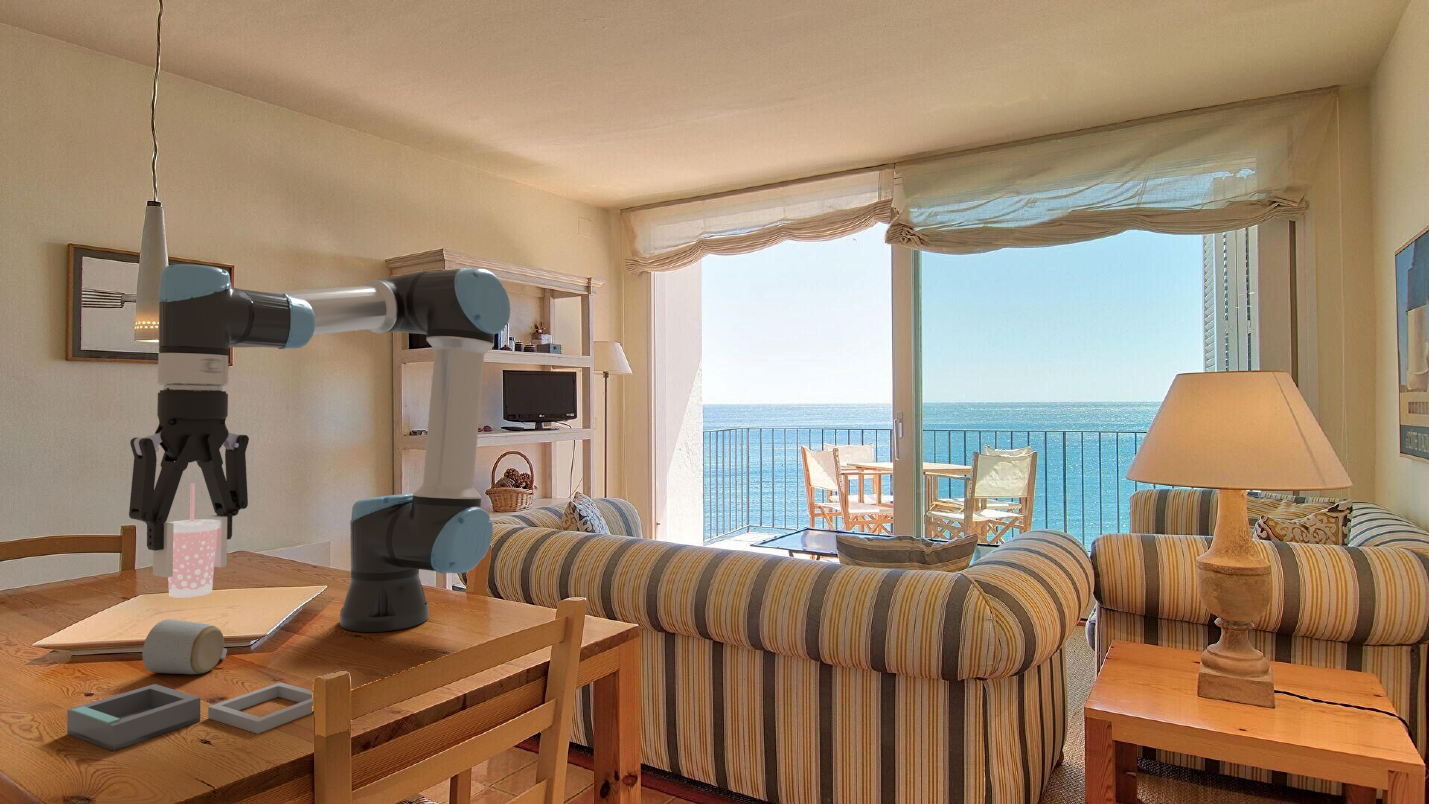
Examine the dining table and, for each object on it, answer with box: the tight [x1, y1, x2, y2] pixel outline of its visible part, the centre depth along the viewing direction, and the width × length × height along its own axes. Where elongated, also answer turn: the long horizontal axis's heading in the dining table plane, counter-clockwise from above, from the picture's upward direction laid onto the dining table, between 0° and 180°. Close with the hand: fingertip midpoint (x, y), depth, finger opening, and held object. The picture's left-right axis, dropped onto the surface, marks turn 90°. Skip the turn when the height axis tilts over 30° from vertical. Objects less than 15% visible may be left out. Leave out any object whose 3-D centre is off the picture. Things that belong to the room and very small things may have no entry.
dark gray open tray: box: [66, 683, 201, 752], centre depth 101 cm, size 10×10×3 cm
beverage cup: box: [166, 482, 220, 599], centre depth 103 cm, size 6×6×14 cm
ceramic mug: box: [141, 618, 228, 676], centre depth 123 cm, size 11×8×8 cm
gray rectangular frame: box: [207, 681, 313, 735], centre depth 107 cm, size 10×10×2 cm
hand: (190, 570), depth 103 cm, fingers closed on beverage cup, 6 cm apart
